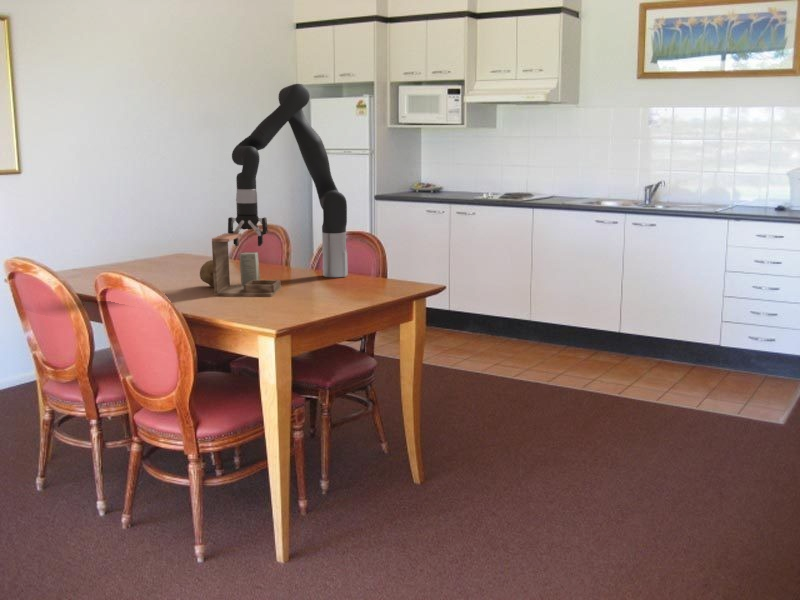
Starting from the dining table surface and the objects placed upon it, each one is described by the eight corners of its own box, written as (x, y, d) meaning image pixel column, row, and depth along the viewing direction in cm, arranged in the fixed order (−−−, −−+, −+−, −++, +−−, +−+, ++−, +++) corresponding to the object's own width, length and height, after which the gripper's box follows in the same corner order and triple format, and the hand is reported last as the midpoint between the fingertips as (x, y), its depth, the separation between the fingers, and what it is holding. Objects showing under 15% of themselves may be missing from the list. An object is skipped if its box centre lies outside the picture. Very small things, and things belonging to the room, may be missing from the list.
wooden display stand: (282, 288, 320) (280, 233, 317) (272, 296, 305) (270, 238, 301) (227, 288, 322) (224, 233, 318) (214, 296, 306) (211, 238, 303)
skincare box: (260, 284, 329) (258, 252, 327) (257, 286, 325) (255, 253, 323) (243, 284, 330) (242, 252, 328) (240, 286, 326) (238, 253, 323)
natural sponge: (213, 290, 319) (211, 262, 317) (195, 288, 323) (193, 261, 321) (230, 286, 326) (229, 259, 324) (212, 284, 331) (211, 257, 329)
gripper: (268, 200, 325) (269, 244, 328) (230, 200, 326) (232, 244, 329) (263, 202, 318) (264, 247, 321) (224, 202, 319) (226, 246, 322)
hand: (248, 245), depth 325 cm, fingers open, 8 cm apart
